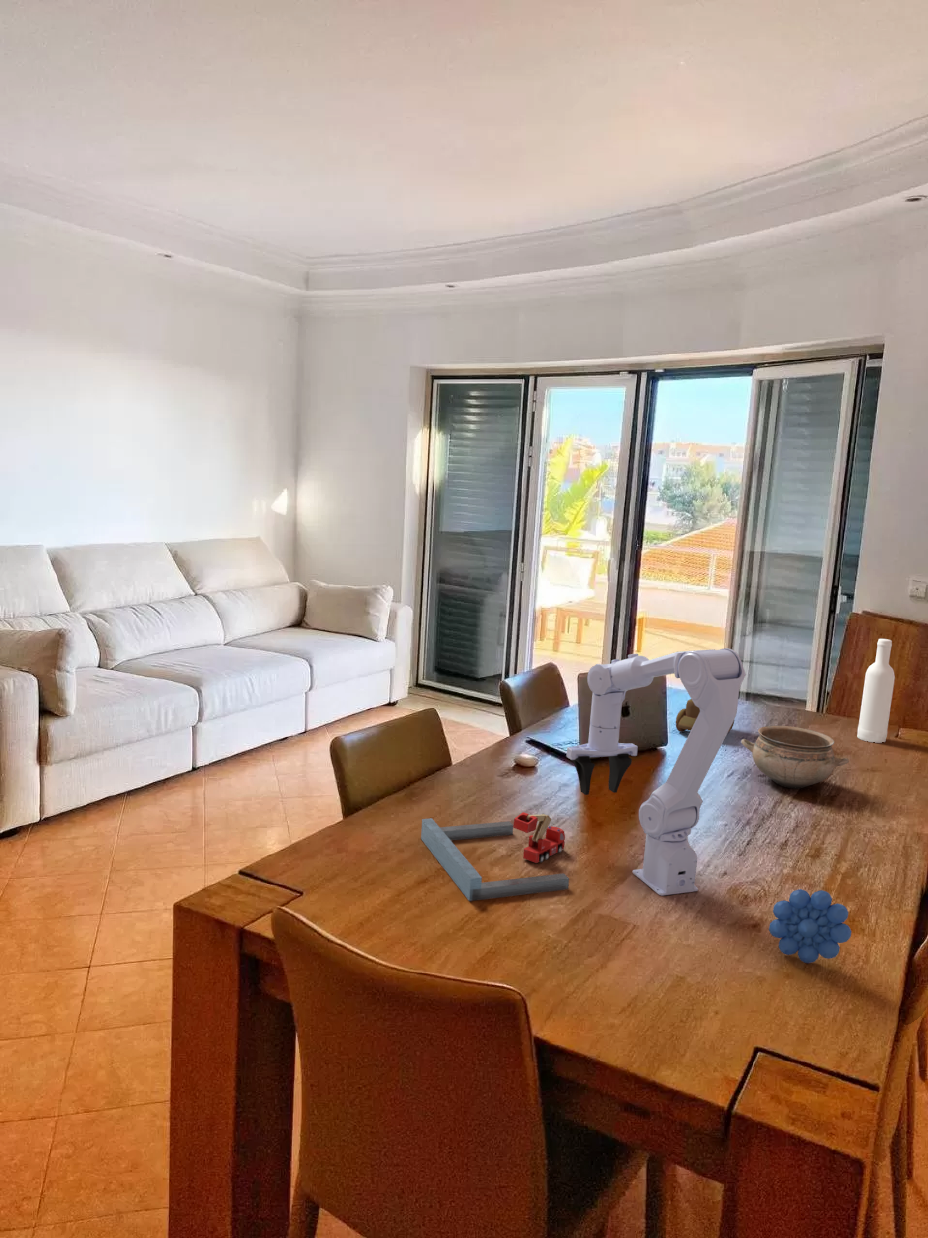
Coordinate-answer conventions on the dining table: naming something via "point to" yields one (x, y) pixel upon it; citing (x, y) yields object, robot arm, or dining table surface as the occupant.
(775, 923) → the blue beaded flower
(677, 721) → the wooden toy train
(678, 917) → the dining table surface
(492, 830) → the garage
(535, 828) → the toy fire truck
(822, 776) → the cooking pot
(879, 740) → the bottle
